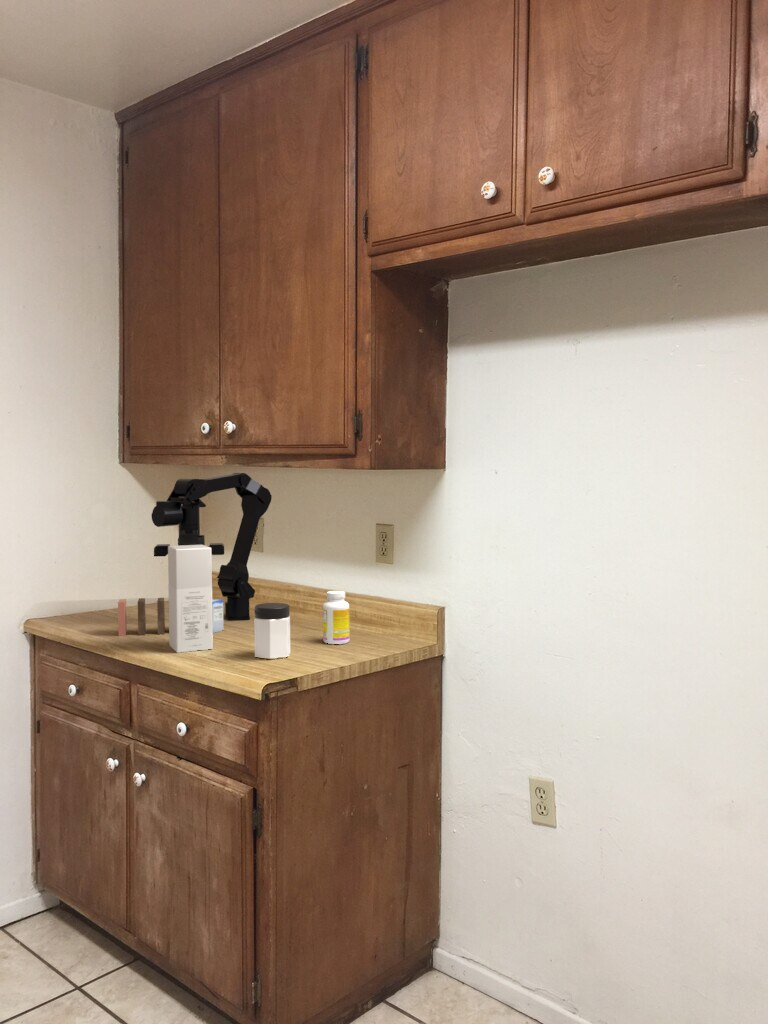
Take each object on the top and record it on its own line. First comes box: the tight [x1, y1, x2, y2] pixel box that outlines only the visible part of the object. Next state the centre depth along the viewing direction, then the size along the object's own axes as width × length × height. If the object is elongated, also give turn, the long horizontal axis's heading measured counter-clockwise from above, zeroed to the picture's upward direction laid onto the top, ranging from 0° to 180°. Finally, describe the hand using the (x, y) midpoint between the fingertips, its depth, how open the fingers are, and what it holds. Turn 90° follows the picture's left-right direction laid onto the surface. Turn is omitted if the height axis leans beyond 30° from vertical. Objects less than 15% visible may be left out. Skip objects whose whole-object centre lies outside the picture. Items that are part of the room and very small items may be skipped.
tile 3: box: [137, 598, 147, 636], centre depth 234 cm, size 2×5×9 cm, turn 12°
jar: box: [253, 602, 291, 658], centre depth 207 cm, size 9×8×12 cm
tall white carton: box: [167, 545, 214, 654], centre depth 215 cm, size 9×9×25 cm
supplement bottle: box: [322, 590, 351, 645], centre depth 222 cm, size 7×7×13 cm
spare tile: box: [117, 598, 128, 637], centre depth 233 cm, size 2×5×9 cm, turn 12°
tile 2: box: [156, 597, 166, 636], centre depth 235 cm, size 2×5×9 cm, turn 12°
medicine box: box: [212, 598, 224, 634], centre depth 237 cm, size 8×4×9 cm, turn 62°
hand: (190, 580), depth 242 cm, fingers closed
